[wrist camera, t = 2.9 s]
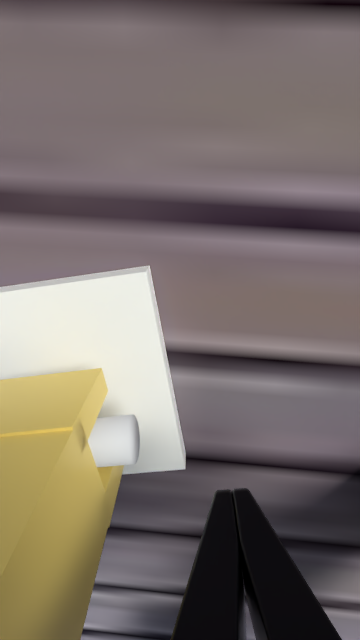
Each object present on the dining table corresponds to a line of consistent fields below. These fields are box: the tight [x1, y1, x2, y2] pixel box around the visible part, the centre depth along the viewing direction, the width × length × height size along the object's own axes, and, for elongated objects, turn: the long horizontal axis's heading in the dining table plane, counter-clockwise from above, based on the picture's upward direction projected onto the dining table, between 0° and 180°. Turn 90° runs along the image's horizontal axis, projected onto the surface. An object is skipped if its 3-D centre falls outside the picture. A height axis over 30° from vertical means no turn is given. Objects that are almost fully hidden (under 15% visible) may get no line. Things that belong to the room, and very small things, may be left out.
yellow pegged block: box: [0, 368, 124, 640], centre depth 9 cm, size 4×4×8 cm
